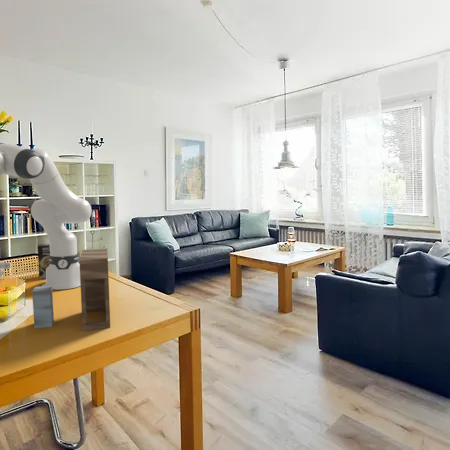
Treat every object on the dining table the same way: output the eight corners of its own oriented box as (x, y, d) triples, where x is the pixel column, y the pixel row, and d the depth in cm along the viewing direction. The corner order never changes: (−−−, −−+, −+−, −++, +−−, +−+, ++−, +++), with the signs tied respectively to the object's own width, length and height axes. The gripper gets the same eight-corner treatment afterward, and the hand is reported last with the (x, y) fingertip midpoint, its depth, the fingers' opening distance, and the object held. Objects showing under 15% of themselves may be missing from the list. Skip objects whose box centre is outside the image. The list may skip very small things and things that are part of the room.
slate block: (37, 322, 119) (35, 287, 118) (53, 320, 121) (51, 285, 119) (34, 328, 114) (32, 291, 113) (51, 326, 116) (49, 289, 114)
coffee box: (38, 279, 174) (36, 245, 172) (39, 276, 179) (37, 243, 178) (59, 277, 177) (57, 244, 175) (59, 274, 183) (58, 242, 181)
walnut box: (85, 311, 130) (82, 249, 127) (109, 308, 132) (107, 248, 130) (82, 330, 112) (79, 260, 110) (110, 327, 115) (107, 258, 112)
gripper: (-61, 272, 101) (-4, 267, 105) (-35, 255, 120) (13, 252, 124) (-59, 293, 102) (-2, 288, 106) (-33, 274, 121) (14, 270, 125)
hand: (6, 269), depth 115 cm, fingers open, 8 cm apart
